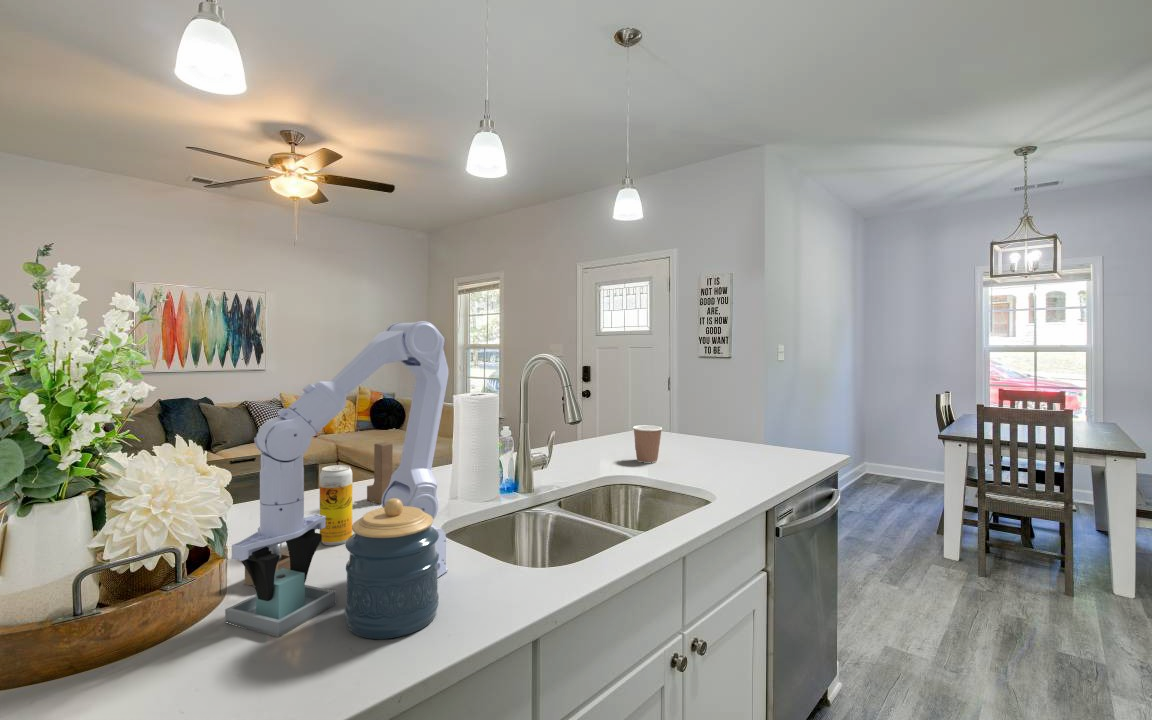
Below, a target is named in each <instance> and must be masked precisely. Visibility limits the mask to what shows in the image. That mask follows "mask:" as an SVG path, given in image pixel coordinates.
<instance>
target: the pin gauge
mask: <svg viewBox="0 0 1152 720" xmlns="http://www.w3.org/2000/svg"><path fill="white" fill-rule="evenodd" d="M282 549H283V548H282V543H281V544H278V545H276V546H273V547H271V548H269V551H271V554H276V555H280V557H279V560H278V562H279V561H282V551H283V550H282Z"/></svg>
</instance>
